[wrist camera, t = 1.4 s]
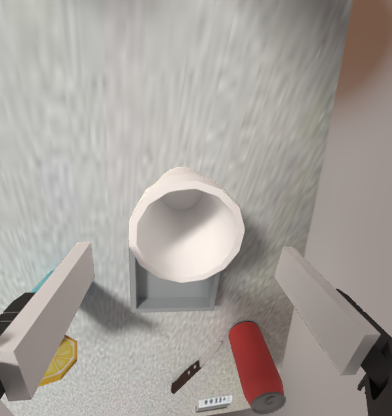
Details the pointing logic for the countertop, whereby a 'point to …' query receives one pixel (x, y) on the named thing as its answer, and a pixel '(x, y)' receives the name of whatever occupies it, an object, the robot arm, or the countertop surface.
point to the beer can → (256, 369)
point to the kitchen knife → (193, 369)
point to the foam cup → (185, 227)
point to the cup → (59, 354)
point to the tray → (169, 292)
